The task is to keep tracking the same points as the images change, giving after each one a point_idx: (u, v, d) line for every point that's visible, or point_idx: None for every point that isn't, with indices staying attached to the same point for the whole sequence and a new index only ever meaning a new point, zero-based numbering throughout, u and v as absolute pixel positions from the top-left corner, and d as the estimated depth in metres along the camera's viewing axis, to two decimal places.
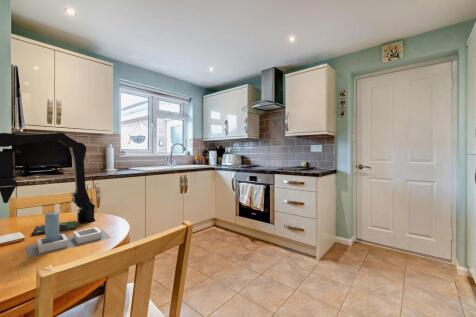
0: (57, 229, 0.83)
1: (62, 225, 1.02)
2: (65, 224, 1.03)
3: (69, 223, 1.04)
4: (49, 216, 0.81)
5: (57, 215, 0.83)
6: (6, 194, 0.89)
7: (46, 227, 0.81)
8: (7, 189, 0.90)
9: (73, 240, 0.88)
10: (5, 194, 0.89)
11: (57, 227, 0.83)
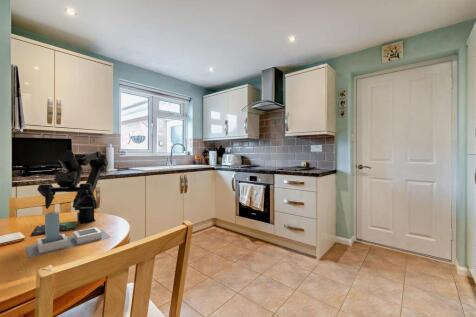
0: (57, 229, 0.83)
1: (62, 225, 1.01)
2: (65, 224, 1.03)
3: (69, 223, 1.04)
4: (49, 216, 0.81)
5: (57, 215, 0.83)
6: (79, 199, 0.94)
7: (46, 227, 0.81)
8: (81, 195, 0.95)
9: (73, 240, 0.88)
10: (79, 199, 0.93)
11: (57, 227, 0.83)
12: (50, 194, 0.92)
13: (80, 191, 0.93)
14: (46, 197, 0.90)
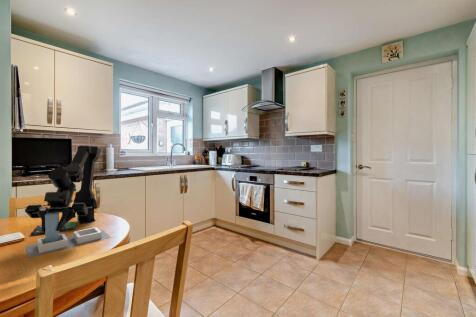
0: None
1: None
2: (65, 224, 1.03)
3: (69, 223, 1.04)
4: (49, 216, 0.81)
5: (57, 215, 0.83)
6: (64, 221, 0.85)
7: (46, 227, 0.81)
8: (66, 217, 0.86)
9: (73, 240, 0.88)
10: (64, 221, 0.85)
11: None
12: None
13: (65, 212, 0.85)
14: (43, 219, 0.82)
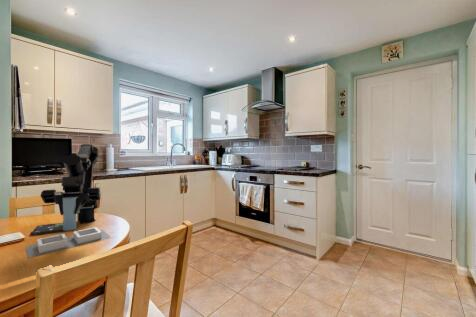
0: None
1: (62, 225, 1.01)
2: None
3: None
4: (68, 199, 0.84)
5: (74, 199, 0.86)
6: (80, 205, 0.88)
7: (64, 210, 0.84)
8: (81, 201, 0.90)
9: (73, 240, 0.88)
10: (80, 205, 0.88)
11: (74, 210, 0.86)
12: None
13: (82, 196, 0.88)
14: (60, 203, 0.85)
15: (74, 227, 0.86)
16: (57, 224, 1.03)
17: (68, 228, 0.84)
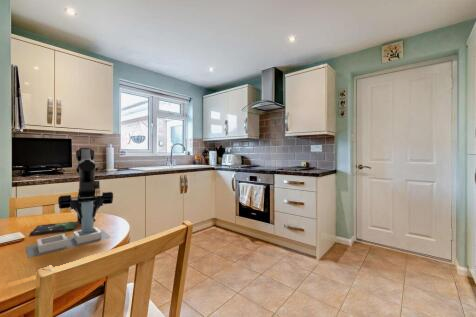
0: (92, 216, 0.91)
1: (62, 225, 1.01)
2: (65, 224, 1.02)
3: (69, 224, 1.04)
4: (87, 204, 0.89)
5: (92, 203, 0.91)
6: (97, 209, 0.94)
7: (84, 214, 0.89)
8: None
9: (73, 240, 0.88)
10: (97, 208, 0.93)
11: (92, 214, 0.91)
12: (79, 204, 0.91)
13: (98, 200, 0.94)
14: (78, 207, 0.89)
15: (92, 230, 0.91)
16: (57, 224, 1.03)
17: (87, 231, 0.89)
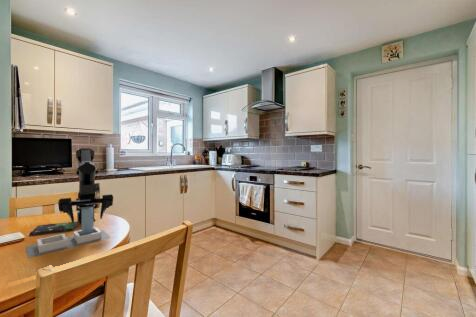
0: (92, 222, 0.91)
1: (61, 225, 1.01)
2: (65, 225, 1.02)
3: (69, 224, 1.04)
4: (87, 210, 0.89)
5: None
6: (103, 211, 0.95)
7: (84, 220, 0.89)
8: None
9: (73, 240, 0.88)
10: (103, 210, 0.95)
11: None
12: None
13: (104, 202, 0.95)
14: (70, 211, 0.88)
15: None
16: (57, 224, 1.03)
17: None
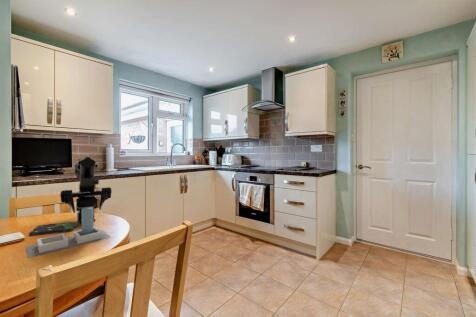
0: (93, 222, 0.91)
1: (61, 226, 1.01)
2: (65, 225, 1.02)
3: (69, 224, 1.03)
4: (87, 210, 0.89)
5: None
6: (102, 202, 1.02)
7: (84, 220, 0.89)
8: None
9: (73, 240, 0.88)
10: (102, 202, 1.02)
11: None
12: None
13: (103, 194, 1.02)
14: (71, 202, 0.95)
15: None
16: (57, 224, 1.03)
17: None
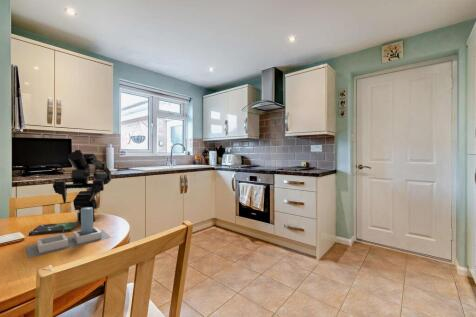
0: (92, 222, 0.91)
1: (61, 226, 1.01)
2: (65, 225, 1.02)
3: (69, 224, 1.03)
4: (87, 210, 0.89)
5: (92, 209, 0.91)
6: (93, 194, 1.03)
7: (83, 221, 0.89)
8: (94, 191, 1.05)
9: (73, 240, 0.88)
10: (93, 194, 1.03)
11: (92, 220, 0.91)
12: (65, 190, 1.00)
13: (94, 186, 1.03)
14: (62, 193, 0.98)
15: None
16: (58, 224, 1.03)
17: None
